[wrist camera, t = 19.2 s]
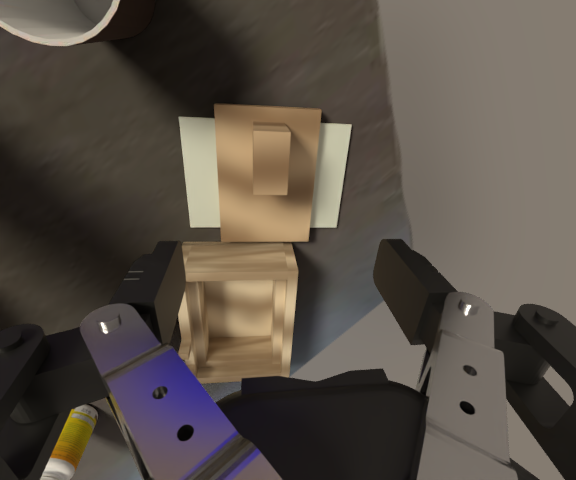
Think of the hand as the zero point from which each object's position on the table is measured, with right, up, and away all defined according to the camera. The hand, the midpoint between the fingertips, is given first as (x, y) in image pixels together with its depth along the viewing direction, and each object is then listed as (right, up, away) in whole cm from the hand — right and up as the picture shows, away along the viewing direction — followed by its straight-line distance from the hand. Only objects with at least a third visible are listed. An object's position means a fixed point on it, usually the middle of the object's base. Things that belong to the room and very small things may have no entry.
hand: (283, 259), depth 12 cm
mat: (-2, +7, +19) cm, 20 cm away
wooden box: (-9, -6, +25) cm, 28 cm away
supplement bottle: (-31, -25, +33) cm, 52 cm away
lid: (-2, +7, +18) cm, 20 cm away
